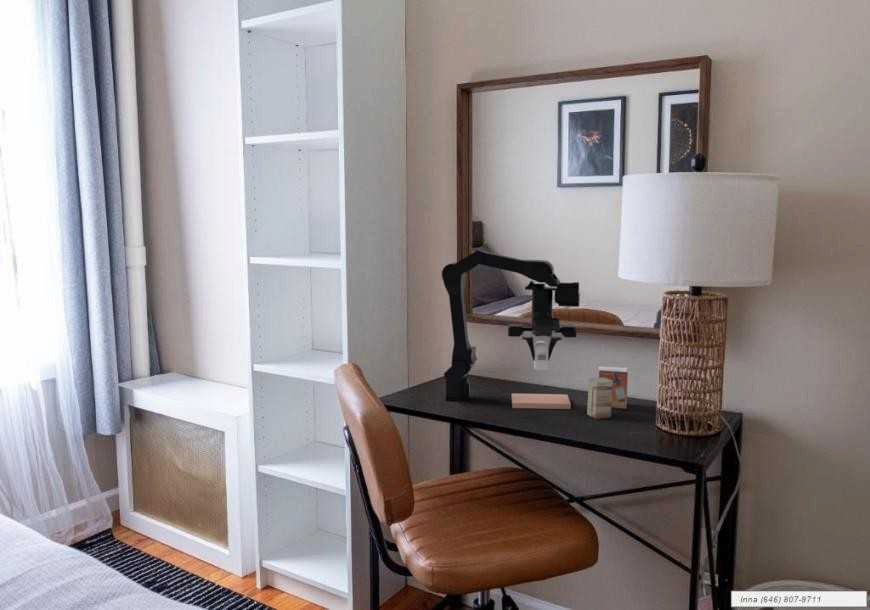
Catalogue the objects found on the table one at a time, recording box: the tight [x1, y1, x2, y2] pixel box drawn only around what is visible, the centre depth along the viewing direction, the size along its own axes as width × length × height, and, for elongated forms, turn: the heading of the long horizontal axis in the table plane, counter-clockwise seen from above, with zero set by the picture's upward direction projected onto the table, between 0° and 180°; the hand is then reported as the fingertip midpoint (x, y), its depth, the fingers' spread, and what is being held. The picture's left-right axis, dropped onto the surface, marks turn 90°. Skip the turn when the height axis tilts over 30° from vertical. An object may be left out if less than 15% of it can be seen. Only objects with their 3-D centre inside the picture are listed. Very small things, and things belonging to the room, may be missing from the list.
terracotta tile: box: [511, 393, 572, 410], centre depth 204 cm, size 16×10×2 cm, turn 85°
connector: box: [533, 340, 549, 371], centre depth 202 cm, size 4×6×7 cm, turn 175°
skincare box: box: [586, 377, 613, 420], centre depth 192 cm, size 5×4×10 cm
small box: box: [597, 366, 629, 409], centre depth 202 cm, size 8×6×10 cm
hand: (540, 360), depth 203 cm, fingers closed on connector, 4 cm apart
